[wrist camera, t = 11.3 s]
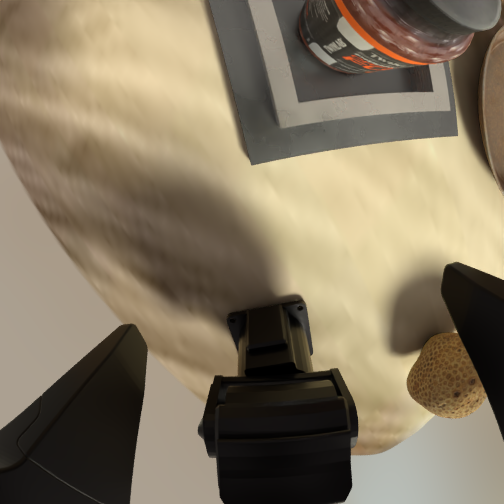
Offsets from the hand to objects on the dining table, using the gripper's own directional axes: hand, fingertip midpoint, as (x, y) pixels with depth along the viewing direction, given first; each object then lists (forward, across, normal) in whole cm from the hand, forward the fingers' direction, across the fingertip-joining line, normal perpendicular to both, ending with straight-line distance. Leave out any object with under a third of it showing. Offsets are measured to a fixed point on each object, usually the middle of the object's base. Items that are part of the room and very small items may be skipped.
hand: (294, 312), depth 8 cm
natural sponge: (+13, -15, +20) cm, 28 cm away
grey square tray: (+13, -7, -9) cm, 17 cm away
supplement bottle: (+12, -7, -9) cm, 17 cm away
